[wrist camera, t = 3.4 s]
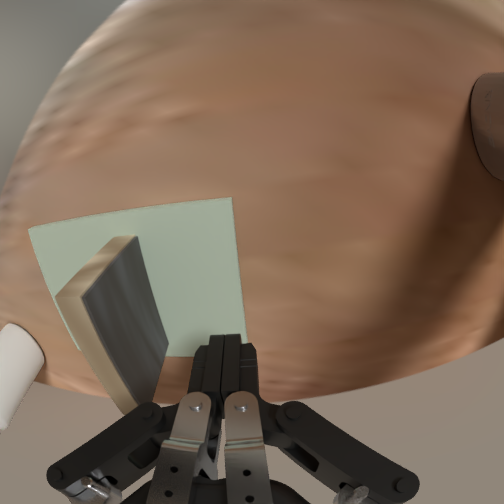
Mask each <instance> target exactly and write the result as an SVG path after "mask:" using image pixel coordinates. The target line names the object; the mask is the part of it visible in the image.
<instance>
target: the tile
mask: <svg viewBox="0 0 504 504" xmlns="http://www.w3.org/2000/svg"><path fill="white" fill-rule="evenodd" d="M55 299H56V302H57V304H58V306H59V308H60V310H61V313H62V315H63V317H64V319H65V321H66V323H67V325H68V327H69V329H70V331H71V333H72V335H73V337H74V339H75V340H76V342H77V344H78V346H79V348H80V349H81V351H82V353H83V355H84V356H85V358H86V360H87V362H88V363H89V365H90V367H91V368H92V370H93V371H94V373H95V375H96V376H97V378H98V379H99V381H100V382H101V384H102V385H103V387H104V388H105V390H106V391H107V393H108V394H109V396H110V397H111V398H112V400H113V401H114V403H115V404H116V405H117V407H118V408H119V409H120V411H121V412H122V413H123V414H124V415H126V414H128V413H129V412H130V411H132V410H133V409H134V408H136V407H137V406H138V405H140V404H142V403H145V402H152V400H153V396H154V393H155V389H156V386H157V382H158V379H159V375H160V372H161V368H162V365H163V362H164V358H165V355H166V352H167V348H168V345H169V342H168V339H167V336H166V333H165V330H164V327H163V324H162V321H161V318H160V315H159V312H158V309H157V306H156V302H155V299H154V296H153V292H152V289H151V285H150V282H149V278H148V275H147V271H146V267H145V264H144V260H143V256H142V252H141V248H140V244H139V239H138V236H135V234H134V235H125V236H117V237H113V238H112V239H111V240H110V241H109V242H108V243H107V244H106V245H105V246H103V247H102V248H101V249H100V250H99V251H98V252H97V253H96V254H95V255H94V256H93V257H92V258H91V259H90V260H89V261H88V262H87V263H86V264H85V265H84V266H83V267H82V268H81V269H80V270H79V271H78V272H77V273H76V274H75V275H74V276H73V277H72V278H71V279H70V280H69V281H68V283H67V284H66V285H65V286H64V287H63V288H62V289H61V290H60V291H59V292H58V293H57V294H56V296H55Z"/></svg>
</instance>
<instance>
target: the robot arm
mask: <svg viewBox="0 0 504 504" xmlns="http://www.w3.org/2000/svg"><path fill="white" fill-rule="evenodd" d="M471 123H472V131H473V136H474V141H475V144H476V147H477V151H478V154H479V156H480V158H481V160H482V163H483V164H484V166H485V167H486V169H487V170H488V171H489V172H490V173H491V174H492V176H494V177H496V178H498V179H500V180H502V181H504V72H498V73H487V74H483V75H482V76H481V77H480V78H479V79H478V80H477V82H476V84H475V86H474V89H473V92H472V99H471ZM193 361H194V362H193V366H192V371H191V376H190V382H189V387H188V393H187V395H185V396H184V397H183V398H182V399H181V401H180V402H179V403H178V404H175V405H172V406H167V407H162V408H161V407H160V406H159V405H158V404H156V403H153V402H145V403H142V404H140V405H138V406H137V407H136V408H134V409H133V410H132V411H130V412H129V413H128V414H126V415H125V416H124V417H122V418H121V419H119V420H118V421H116V422H115V423H114V424H112V425H111V426H110V427H108V428H107V429H105V430H104V431H102V432H101V433H100V434H98V435H97V436H95V437H94V438H92V439H91V440H89V441H88V442H87V443H85V444H83V445H82V446H80V447H79V448H77V449H76V450H74V451H73V452H71V453H70V454H68V455H67V456H65V457H64V458H62V459H60V460H59V461H57V462H56V463H54V464H53V465H51V466H50V467H49V468H48V470H47V481H48V483H49V484H50V485H51V486H52V487H53V488H54V489H56V490H58V491H60V492H61V493H63V494H64V495H65V496H67V497H68V499H69V501H70V502H71V504H310V503H309V502H308V501H306V500H305V499H304V498H303V497H302V496H300V495H299V494H298V493H297V492H296V491H295V490H293V489H292V488H290V487H289V486H287V485H285V484H283V483H281V482H278V481H275V480H271V479H269V474H268V466H267V460H266V454H265V447H264V444H266V445H271V446H275V447H278V448H279V449H280V450H281V451H282V452H283V453H285V454H286V455H287V456H288V457H289V458H291V459H292V460H293V461H294V462H295V463H297V464H298V465H299V466H300V467H302V468H303V469H304V470H306V471H307V472H308V473H310V474H311V475H312V476H313V477H315V478H316V479H317V480H319V481H321V482H322V483H323V484H324V485H326V486H327V487H329V488H330V489H331V490H333V491H334V492H336V493H337V495H336V496H335V498H334V500H333V504H403V503H405V502H406V501H408V500H410V499H412V498H413V497H414V496H415V495H416V493H417V492H418V490H419V485H420V483H419V479H418V477H417V476H416V475H415V474H414V473H413V472H411V471H409V470H407V469H405V468H403V467H402V466H400V465H398V464H396V463H394V462H393V461H391V460H389V459H387V458H386V457H384V456H382V455H381V454H379V453H377V452H376V451H374V450H372V449H371V448H369V447H367V446H366V445H364V444H363V443H361V442H359V441H358V440H356V439H355V438H353V437H351V436H350V435H349V434H347V433H346V432H344V431H343V430H341V429H339V428H338V427H336V426H335V425H334V424H332V423H331V422H329V421H328V420H326V419H325V418H323V417H322V416H321V415H319V414H318V413H316V412H315V411H314V410H312V409H311V408H309V407H308V406H307V405H305V404H304V403H301V402H298V401H290V402H286V403H284V404H282V405H281V406H280V405H275V404H270V403H268V402H266V401H264V400H263V399H262V398H261V397H260V395H259V380H258V364H257V354H256V349H255V348H254V346H253V345H252V343H243V344H242V339H241V334H240V333H238V334H226V335H225V334H220V335H210V338H209V344H208V345H200V347H199V348H198V349H197V351H196V352H195V355H194V360H193ZM222 419H225V430H226V444H225V447H224V449H225V450H224V452H225V470H226V478H224V479H219V480H218V470H217V461H218V455H219V448H220V441H221V434H222V431H221V421H222ZM155 466H156V467H155ZM154 467H155V470H154V474H153V478H152V480H150V481H148V482H147V483H145V484H144V485H143V486H141V487H140V488H139V489H138V490H136V491H135V492H134V493H133V494H131V495H130V496H129V497H127V498H126V499H125V500H124V501H122V493H121V492H122V491H123V490H125V489H126V488H127V487H129V486H130V485H131V484H133V483H134V482H135V481H137V480H138V479H140V478H141V477H142V476H143V475H145V474H146V473H147V472H149V471H150V470H151V469H153V468H154Z"/></svg>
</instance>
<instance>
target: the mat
mask: <svg viewBox="0 0 504 504" xmlns="http://www.w3.org/2000/svg"><path fill="white" fill-rule="evenodd" d="M28 232H29V235H30V238H31V242H32V245H33V248H34V251H35V254H36V257H37V260H38V263H39V265H40V268H41V271H42V274H43V276H44V279H45V281H46V284H47V286H48V289H49V291H50V293H51V296H52V298H53V300H54V303H55V305H56V307H57V309H58V311H59V313H60V315H61V318H62V320H63V322H64V324H65V326H66V328H67V330H68V331H69V333H70V335H71V337H72V339H73V341H74V343H75V345H76V346H77V348H78V350H81V349H80V348H79V346H78V344H77V342H76V340H75V339H74V337H73V335H72V333H71V331H70V329H69V327H68V325H67V323H66V321H65V319H64V317H63V315H62V313H61V310H60V308H59V306H58V304H57V302H56V299H55V296H56V294H57V293H58V292H59V291H60V290H61V289H62V288H63V287H64V286H65V285H66V284H67V283H68V281H69V280H70V279H71V278H72V277H73V276H74V275H75V274H76V273H77V272H78V271H79V270H80V269H81V268H82V267H83V266H84V265H85V264H86V263H87V262H88V261H89V260H90V259H91V258H92V257H93V256H94V255H95V254H96V253H97V252H98V251H99V250H100V249H101V248H102V247H103V246H105V245H106V244H107V243H108V242H109V241H110V240H111V239H112V238H113V237H117V236H125V235H134V234H135V236H138V239H139V244H140V248H141V252H142V256H143V260H144V264H145V267H146V271H147V275H148V278H149V282H150V285H151V289H152V292H153V296H154V299H155V302H156V306H157V309H158V312H159V315H160V318H161V321H162V324H163V327H164V330H165V333H166V336H167V339H168V342H169V345H168V348H167V352H166V355H165V356H173V357H194V355H195V352H196V351H197V349H198V348H199V347H200V345H208V344H209V338H210V335H220V334H225V335H226V334H238V333H240V334H241V339H242V344H243V343H248V339H247V331H246V322H245V314H244V305H243V297H242V288H241V279H240V270H239V261H238V251H237V242H236V233H235V223H234V213H233V204H232V197H229V198H218V199H208V200H198V201H189V202H180V203H172V204H164V205H156V206H149V207H141V208H134V209H128V210H121V211H115V212H108V213H102V214H96V215H90V216H85V217H79V218H74V219H68V220H63V221H58V222H53V223H48V224H43V225H39V226H34V227H31V228H30V229H28Z"/></svg>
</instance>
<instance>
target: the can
mask: <svg viewBox="0 0 504 504" xmlns="http://www.w3.org/2000/svg"><path fill="white" fill-rule="evenodd" d="M43 364H44V354H43V351H42V349H41V347H40V346H39V344H38V343H37V341H36V340H35V339H34V338H33V337H32V335H31V334H30V333H29V332H27V331H26V330H25V329H24V328H22V327H21V326H19V325H17V324H7V325H6V326H5V327H4V328H3V329H2V330H1V332H0V432H1V431H2V430H4V429H6V428H7V427H8V426H9V425H10V423H11V421H12V419H13V417H14V415H15V413H16V411H17V409H18V407H19V406H20V404H21V402H22V400H23V398H24V397H25V395H26V393H27V391H28V389H29V388H30V386H31V384H32V382H33V381H34V379H35V378H36V376H37V374H38V373H39V371H40V369H41V368H42V366H43Z"/></svg>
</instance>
